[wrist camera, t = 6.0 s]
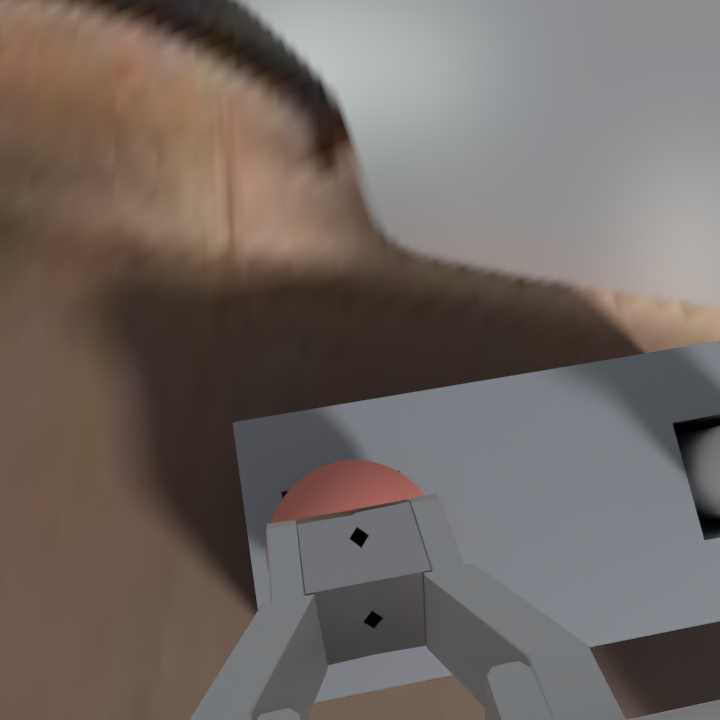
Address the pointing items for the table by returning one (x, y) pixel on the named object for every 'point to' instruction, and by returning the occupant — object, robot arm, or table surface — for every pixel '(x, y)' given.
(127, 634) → the table surface
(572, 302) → the table surface
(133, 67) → the table surface
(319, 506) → the red plug
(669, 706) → the table surface
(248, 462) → the block
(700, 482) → the grey bulb-shaped piece
